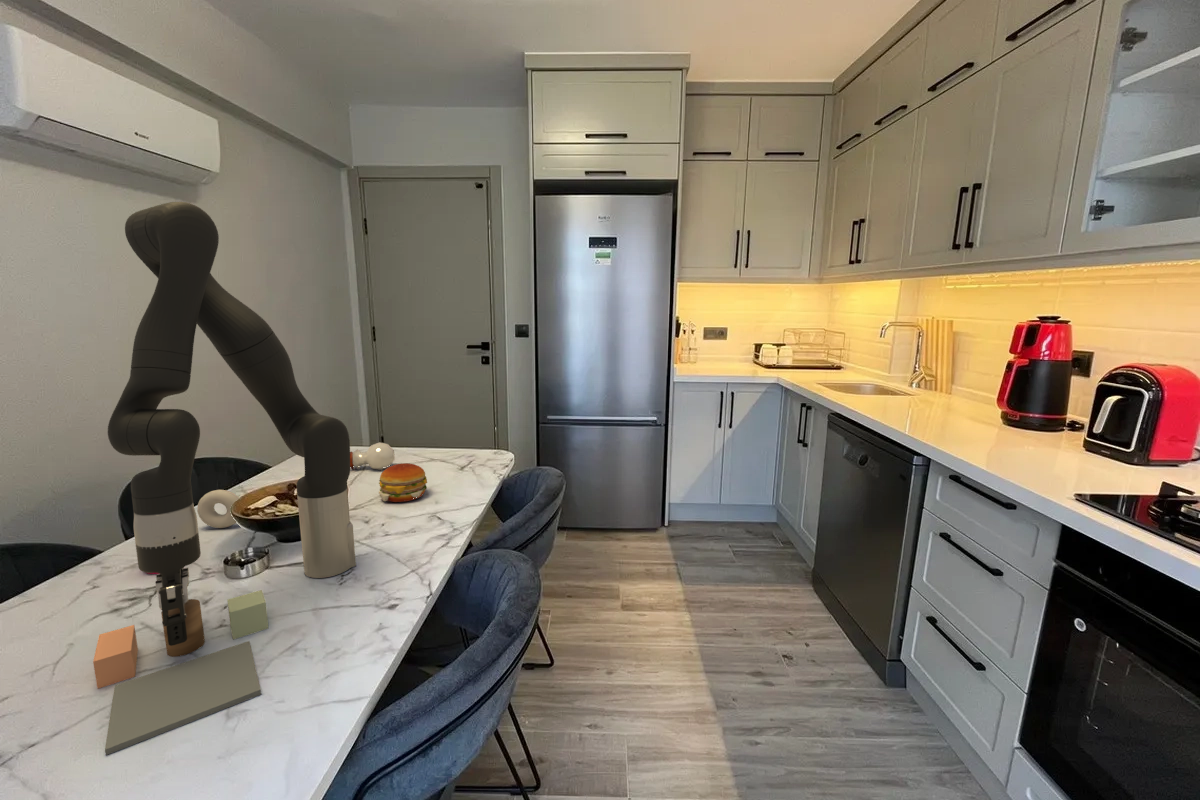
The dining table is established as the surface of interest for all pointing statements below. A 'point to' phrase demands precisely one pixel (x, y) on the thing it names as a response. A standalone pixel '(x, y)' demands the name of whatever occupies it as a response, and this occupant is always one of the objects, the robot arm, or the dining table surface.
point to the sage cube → (247, 614)
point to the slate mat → (180, 695)
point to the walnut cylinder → (188, 630)
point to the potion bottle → (373, 457)
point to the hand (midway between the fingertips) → (178, 629)
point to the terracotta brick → (115, 656)
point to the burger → (402, 482)
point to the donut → (208, 511)
